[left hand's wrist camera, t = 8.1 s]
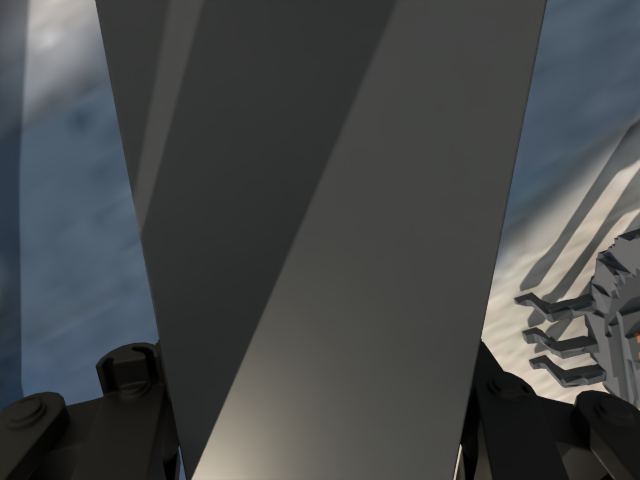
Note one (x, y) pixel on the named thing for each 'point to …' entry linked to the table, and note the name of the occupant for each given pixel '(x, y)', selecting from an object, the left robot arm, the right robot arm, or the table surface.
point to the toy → (599, 324)
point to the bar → (320, 219)
